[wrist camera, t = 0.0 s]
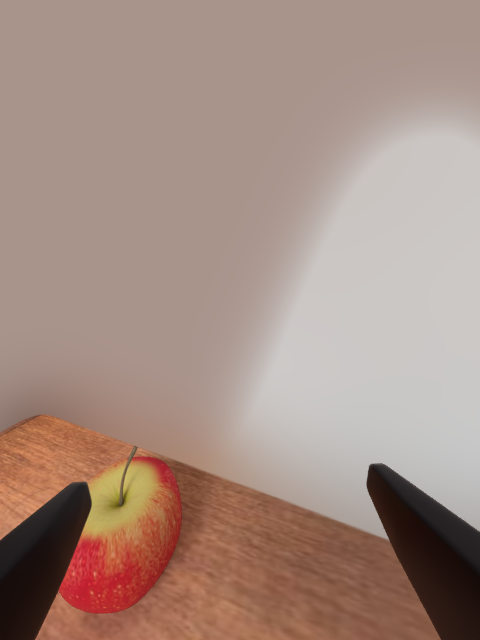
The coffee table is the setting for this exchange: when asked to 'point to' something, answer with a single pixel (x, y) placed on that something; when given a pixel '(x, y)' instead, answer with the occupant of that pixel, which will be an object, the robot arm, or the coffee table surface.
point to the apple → (124, 535)
